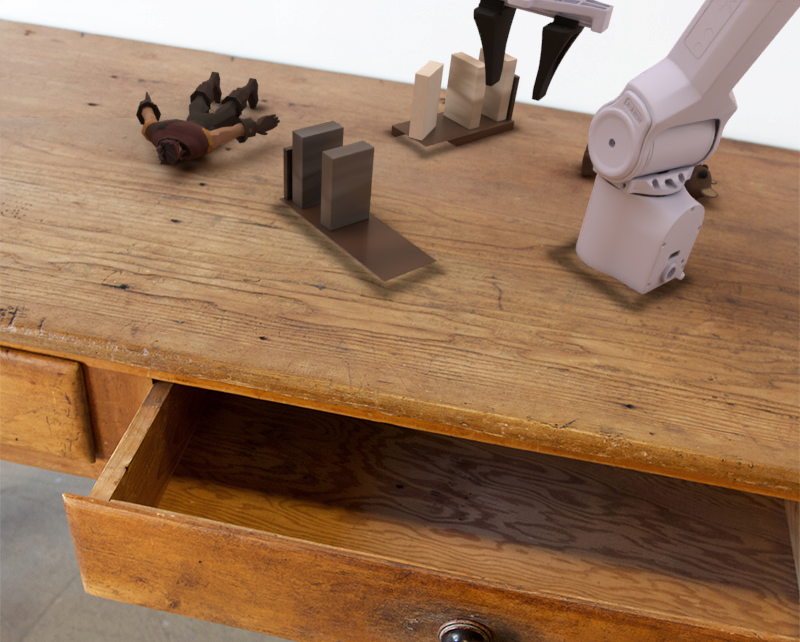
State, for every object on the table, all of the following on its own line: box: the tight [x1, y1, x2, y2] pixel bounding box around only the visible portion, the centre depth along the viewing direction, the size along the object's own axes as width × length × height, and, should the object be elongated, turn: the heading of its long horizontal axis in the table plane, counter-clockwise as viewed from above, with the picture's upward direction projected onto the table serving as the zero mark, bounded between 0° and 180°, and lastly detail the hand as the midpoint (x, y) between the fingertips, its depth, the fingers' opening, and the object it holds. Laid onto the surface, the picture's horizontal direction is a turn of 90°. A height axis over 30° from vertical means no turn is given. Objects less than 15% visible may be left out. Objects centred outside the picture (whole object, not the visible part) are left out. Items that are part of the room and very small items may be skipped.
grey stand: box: [278, 120, 437, 283], centre depth 68 cm, size 16×6×8 cm, turn 40°
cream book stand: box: [390, 47, 521, 148], centre depth 86 cm, size 6×14×8 cm, turn 130°
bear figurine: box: [580, 143, 719, 200], centre depth 82 cm, size 18×4×14 cm
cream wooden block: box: [408, 60, 445, 141], centre depth 83 cm, size 2×4×7 cm, turn 158°
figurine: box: [135, 71, 281, 166], centre depth 80 cm, size 15×4×20 cm
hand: (515, 90), depth 76 cm, fingers open, 4 cm apart
